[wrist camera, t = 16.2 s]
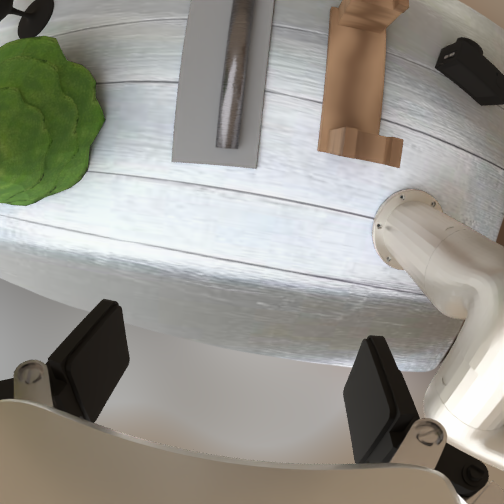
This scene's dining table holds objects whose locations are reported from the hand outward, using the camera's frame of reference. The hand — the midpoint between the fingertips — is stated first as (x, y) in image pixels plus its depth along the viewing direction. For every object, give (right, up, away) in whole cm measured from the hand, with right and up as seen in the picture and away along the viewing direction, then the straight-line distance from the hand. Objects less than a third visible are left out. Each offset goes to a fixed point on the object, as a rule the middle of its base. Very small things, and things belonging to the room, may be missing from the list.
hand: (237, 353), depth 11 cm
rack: (+14, +27, +24) cm, 39 cm away
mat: (-3, +29, +25) cm, 39 cm away
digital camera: (+34, +32, +21) cm, 51 cm away
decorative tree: (-34, +26, +29) cm, 52 cm away
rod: (-3, +29, +23) cm, 37 cm away
